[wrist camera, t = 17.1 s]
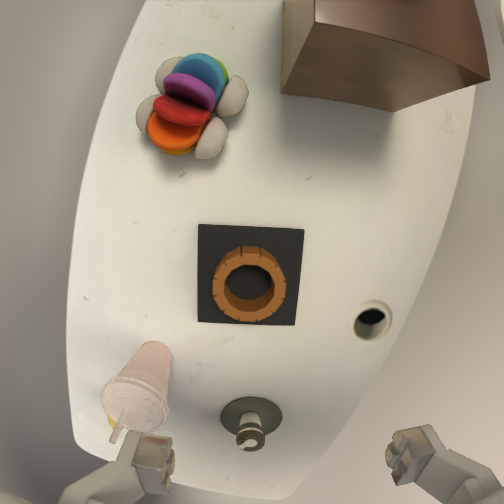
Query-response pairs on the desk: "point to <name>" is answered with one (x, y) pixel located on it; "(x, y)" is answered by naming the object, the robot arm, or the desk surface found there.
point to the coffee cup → (251, 421)
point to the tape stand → (381, 50)
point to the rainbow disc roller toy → (191, 106)
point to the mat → (248, 269)
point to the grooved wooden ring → (243, 307)
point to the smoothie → (140, 391)
